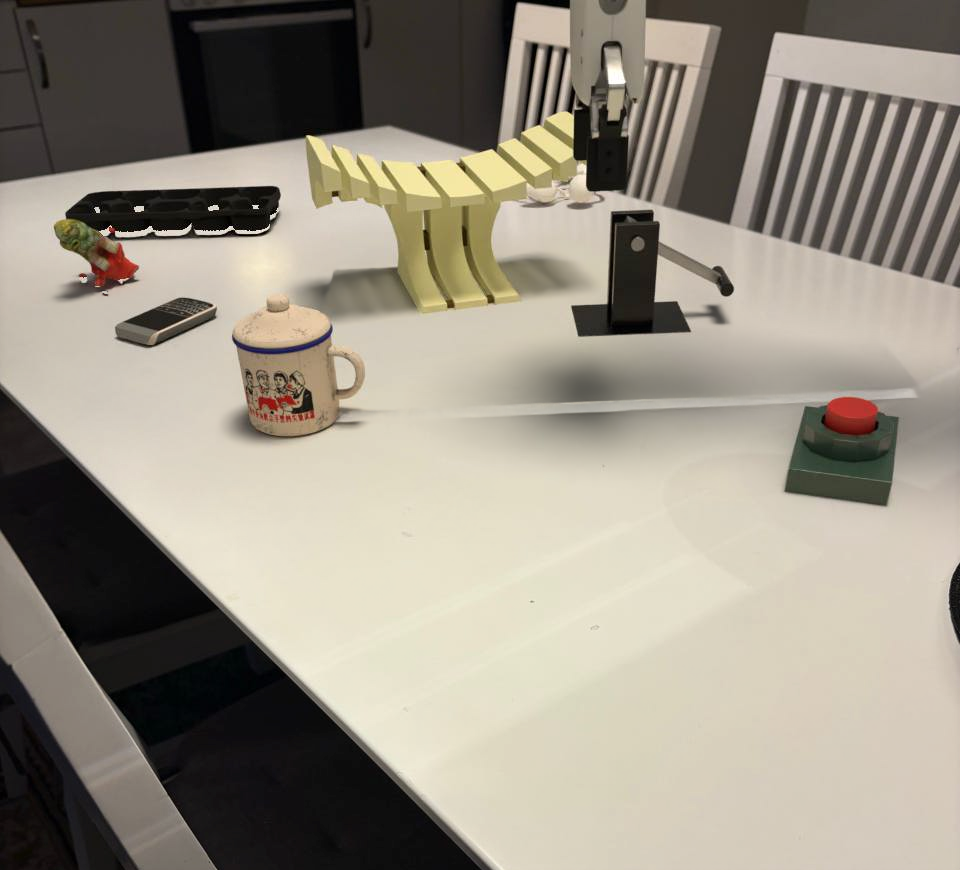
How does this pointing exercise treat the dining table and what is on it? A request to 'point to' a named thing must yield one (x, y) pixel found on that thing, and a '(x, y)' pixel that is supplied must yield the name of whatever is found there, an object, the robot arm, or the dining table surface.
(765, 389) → the dining table surface
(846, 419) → the button
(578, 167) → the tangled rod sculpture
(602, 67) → the robot arm
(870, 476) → the button block
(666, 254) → the lever handle
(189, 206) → the egg carton
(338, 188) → the slatted curved stool
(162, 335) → the cell phone
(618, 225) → the lever bracket
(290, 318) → the teacup with lid
